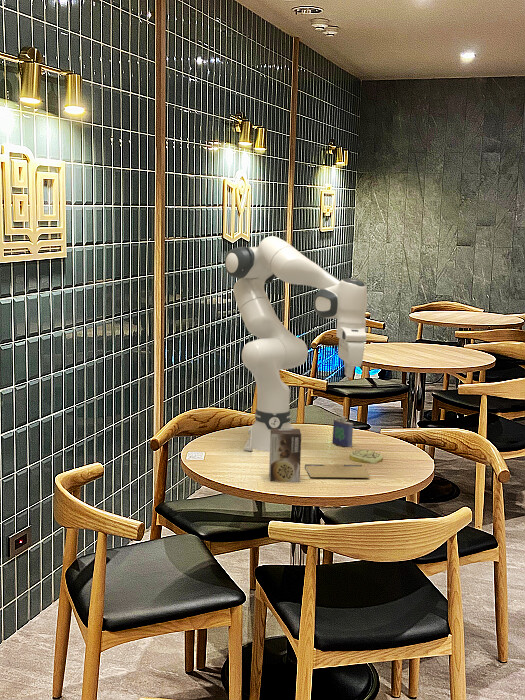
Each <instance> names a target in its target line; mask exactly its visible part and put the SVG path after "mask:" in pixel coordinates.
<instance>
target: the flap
mask: <svg viewBox="0 0 525 700" xmlns="http://www.w3.org/2000/svg"><path fill="white" fill-rule="evenodd" d="M323 465H324V466H306V469H305V470H306V472H307V473H308V475H309V477H310V478H362V479H364V478H365V479H366V478H367V479H368V478H370V477H371V474H370V473H369V472H368V471H367V470H366V469H365V466H363V465H362V466H343V465H344V464H323Z"/></svg>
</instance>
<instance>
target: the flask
mask: <svg viewBox="0 0 525 700" xmlns="http://www.w3.org/2000/svg"><path fill="white" fill-rule="evenodd" d="M346 418H347V417H346V416H343V415H341V416H340V417H339V418H334V419H333V429H332V430H333V431H332V440H331V441H332V442H331V443H332V445H335V446H337V447H341V448H352V447H353V433H354V431H353V429H354V423H353V422H349V421H346Z"/></svg>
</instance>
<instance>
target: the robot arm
mask: <svg viewBox="0 0 525 700" xmlns="http://www.w3.org/2000/svg"><path fill="white" fill-rule="evenodd" d="M224 266H225V267H224V268H225V270H226V273H227V274H228V275H229V276H230V277H232V278H236V279H237V281H236V282H235V283H234V285H233V295H234V299H235V300H234V301H235V302H236V306H237V309H238V311H239V314H240V316H241V319H242V321H243V322H244V325H245V328H246V329H247V331H248V333H250V334H251V335H253V336H255V337H256V338H258V339H254V340H251V341H249V342H247V343H246V344H244V346H243V348H242V351H241V360H242V362H243V365H244V367H245V368H246V369H248V370H249V372H250V373H251V375H252V376H253V378H254V381H255V384H256V392H257V393H256V399H257V400H256V409H255V413H254V419H255V421H254V423H253V424H252V425H251V426H250V427H249V428H248V430H247V431H248V432H247V433H248V435H250V436H249V437H248V439H247V441H246V442H245V445H244V447H243V451H248V452H253V450H257V451H261V452H268V453H270V431H271V428H272V429H295V427H294V426H293V425H292V424H291V422H290V421H291V416H292V415H291V409H290V403H291V401H290V400H291V398H290V397H291V396H290V395H291V390H290V387H289V385H288V384H286V383H285V382H284V381H282V378H281V375H280V374H281V373H280V370H289V369H290V370H291V369H294V368H297V367H300V366H302V365H304V364H305V362H306V361H307V359H308V355H309V353H308V352H309V350H308V347H307V344H306V343H305V341H304V340H303V339H301V338H300V337H297V336H296V335H294V333H292V332H291V331H289V330H288V328H287V327H286V326H285V325H284V324H283V323H282V322H281V320H280V319H279V317H278V316H277V314H276V312H275V309H274V307H273V306H272V303H271V301H270V299H269V297H268V295H267V293H266V291H265V284H267V285H268V284H271V283H272V282H273V281H274V280H275V279H276V278H277V279H279V280H280V281H283V282H285V283H287V284H291V285H300V286H308V287H313V288H316V289H318V291H317V292H316V294H315V295H314V299H313V308H314V311H315V313H316V314H317V316H318V317H320V318H322V319H327V320H329V319H336V336H335V337H336V338H338V347H337V348H338V349H337V350H338V352H337V354H338V358H340V359H341V360H342V361H343V366H344V375H345V377H346V378H352V377H353V374H354V373H353V372H354V369H355V367H356V368H357V367H361V366H362V364H363V359H364V353H365V352H364V351H365V342H367V340H368V337H367V335H368V334H367V333H366V332H367V331H366V330H367V329H366V328H367V327H366V326H367V325H366V324H367V321H366V312H367V310H368V289H367V286H366V284H365V282H364V281H362V280H359V279H355V278H343V279H339V278H338V277H337V276H335V275H334V274H332V273H331V272H329V271H328V270H326V269H325V268H324V267H322V266H321V265H319V264H317V263H316V262H314V261H312V260H311V259H309V258H308V257H306V256H305V254H302V253H301V252H300V251H298V250H297V249H296V248H295V247H294V246H293V245H291V244H290V243H289V242H287V241H286V240H284V239H282V238H280V237H278V236H274V235H270V236H267V237H265V238H263V239H262V240H261V241H260V242H259V244H258V246H252V247H251V246H238V247H234V248H232V249H230V250H228V251H227V254H226V256H225V258H224Z"/></svg>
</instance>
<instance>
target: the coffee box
mask: <svg viewBox="0 0 525 700" xmlns="http://www.w3.org/2000/svg"><path fill="white" fill-rule="evenodd" d="M301 453H302V433H301V430H300V428H294V429H272V428H271V431H270V452H269V462H268V463H269V466H268V467H269V469H268V470H269V473H268V478H269V482H273V483H275V482H276V483H300V482H301V461H302V460H301V457H302V456H301V455H302V454H301Z"/></svg>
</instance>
